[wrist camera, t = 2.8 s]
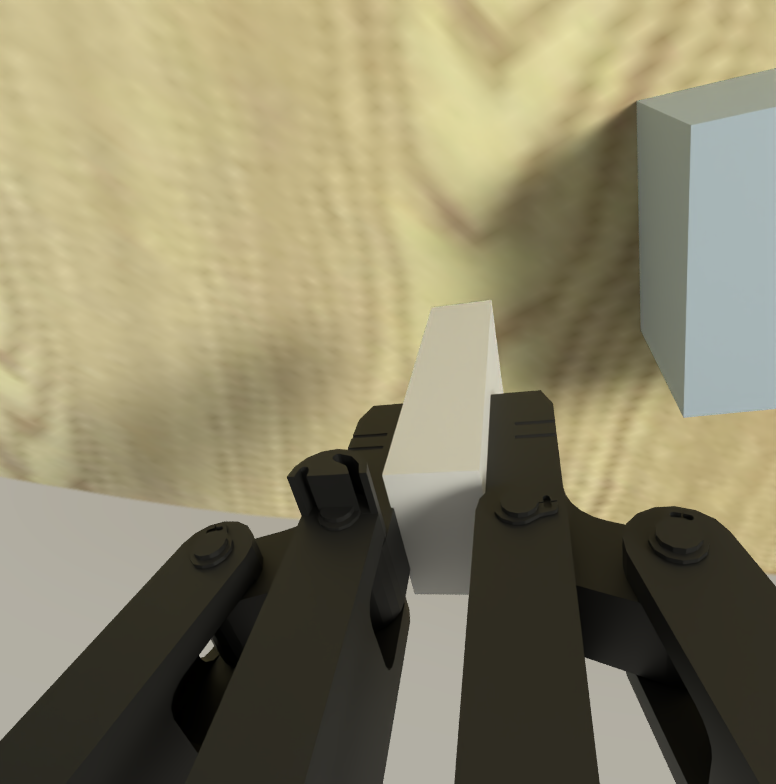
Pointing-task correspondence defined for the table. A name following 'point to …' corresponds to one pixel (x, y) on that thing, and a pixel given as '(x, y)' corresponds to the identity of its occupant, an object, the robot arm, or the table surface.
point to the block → (710, 242)
